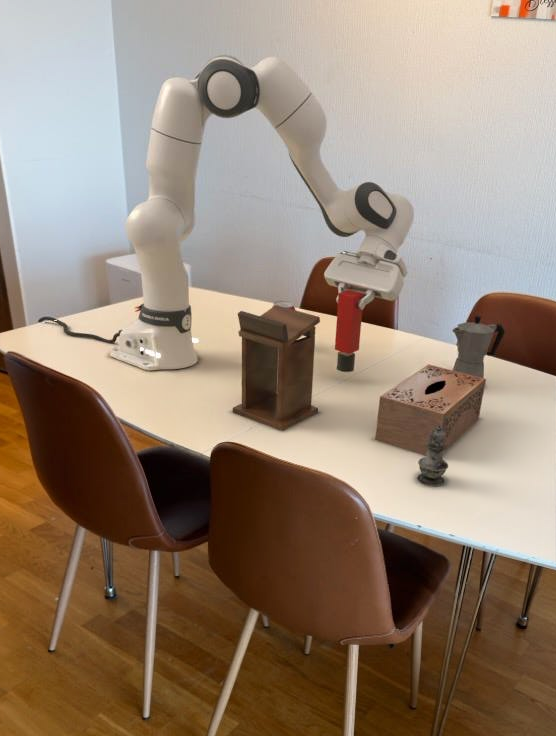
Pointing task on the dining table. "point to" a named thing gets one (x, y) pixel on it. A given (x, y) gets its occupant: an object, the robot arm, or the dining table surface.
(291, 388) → the wooden lectern stand
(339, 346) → the tall red pillar
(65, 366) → the dining table surface
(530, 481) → the dining table surface
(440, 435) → the dark stone figurine
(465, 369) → the coffeepot
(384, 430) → the tissue box cover
